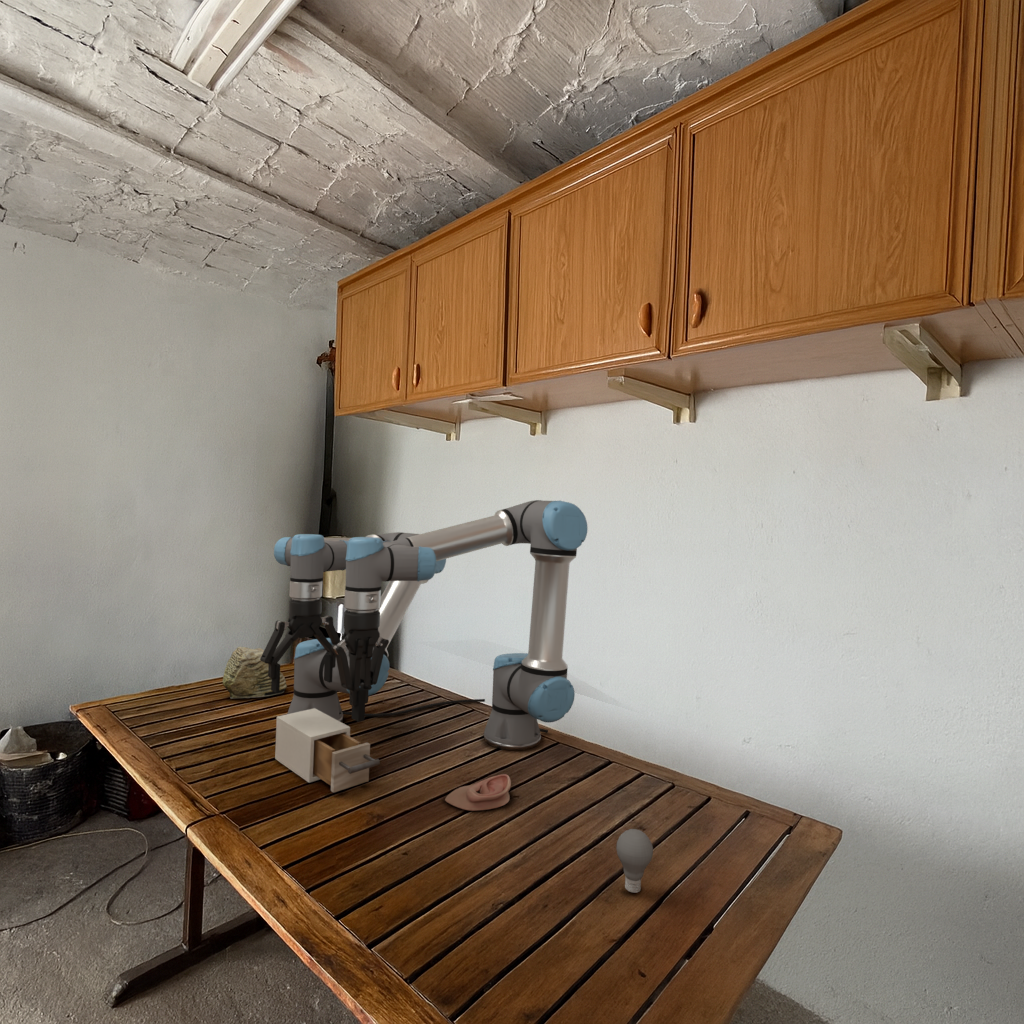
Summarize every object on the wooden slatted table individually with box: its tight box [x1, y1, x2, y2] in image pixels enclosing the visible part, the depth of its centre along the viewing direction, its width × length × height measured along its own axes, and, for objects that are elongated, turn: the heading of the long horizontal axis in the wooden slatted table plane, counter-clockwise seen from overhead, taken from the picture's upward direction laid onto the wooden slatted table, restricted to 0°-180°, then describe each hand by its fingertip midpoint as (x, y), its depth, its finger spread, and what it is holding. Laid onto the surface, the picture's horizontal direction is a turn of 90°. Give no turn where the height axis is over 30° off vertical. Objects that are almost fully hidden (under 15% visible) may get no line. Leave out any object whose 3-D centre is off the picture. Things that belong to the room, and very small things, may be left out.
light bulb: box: [615, 828, 654, 894], centre depth 106 cm, size 6×6×10 cm
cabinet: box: [274, 708, 351, 784], centre depth 149 cm, size 17×10×10 cm, turn 46°
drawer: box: [313, 733, 381, 794], centre depth 140 cm, size 21×9×8 cm, turn 46°
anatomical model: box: [444, 773, 512, 812], centre depth 136 cm, size 13×4×12 cm
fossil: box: [222, 646, 288, 699], centre depth 198 cm, size 9×18×15 cm, turn 132°
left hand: (302, 686), depth 153 cm, fingers open, 13 cm apart
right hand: (358, 719), depth 135 cm, fingers closed
